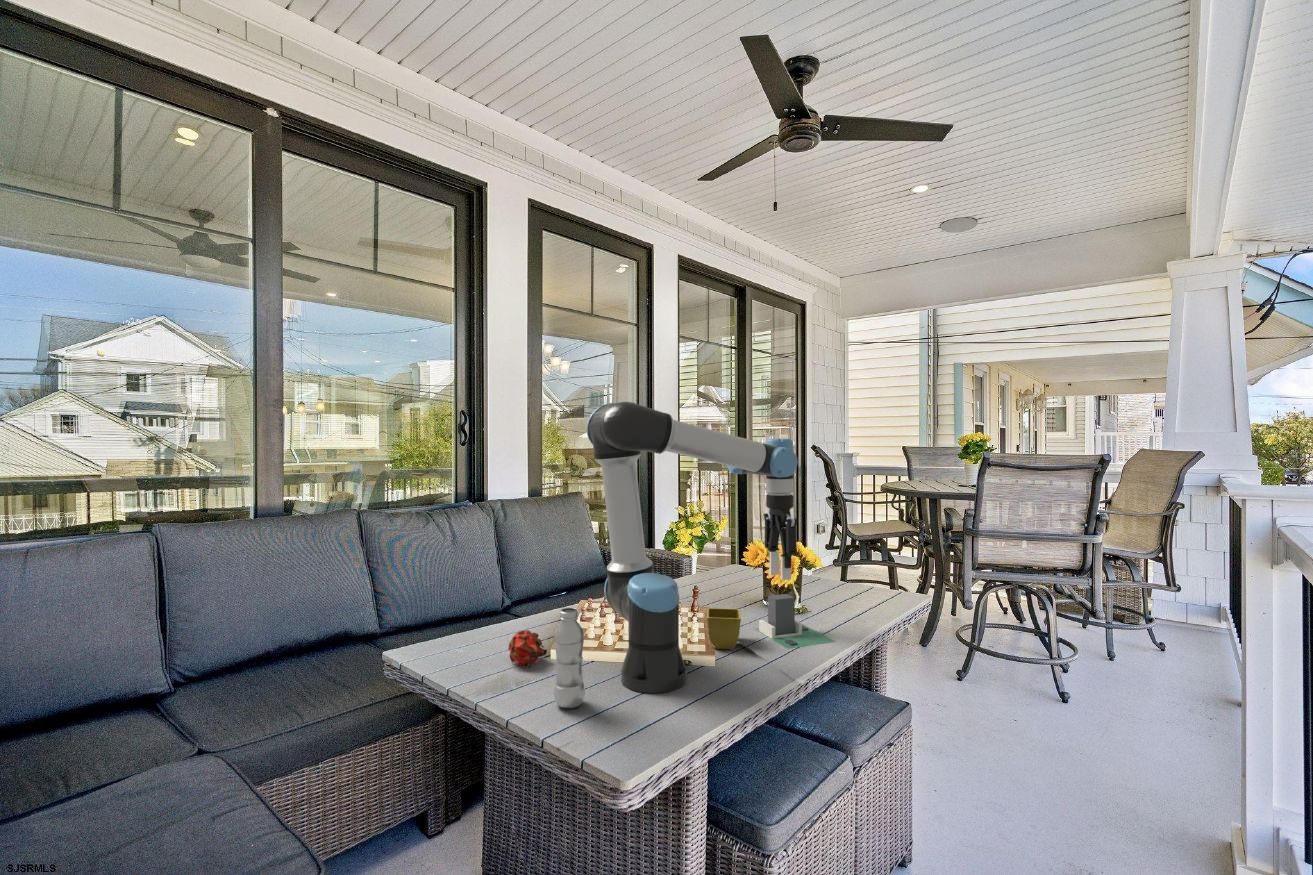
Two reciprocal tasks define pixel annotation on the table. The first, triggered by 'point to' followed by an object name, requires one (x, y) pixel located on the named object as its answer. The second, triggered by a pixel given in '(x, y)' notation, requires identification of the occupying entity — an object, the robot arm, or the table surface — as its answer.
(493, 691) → the table surface
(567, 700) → the plastic bottle
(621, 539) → the robot arm
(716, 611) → the flower pot
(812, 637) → the board
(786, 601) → the plug
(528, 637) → the dragon fruit
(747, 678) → the table surface
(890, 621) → the table surface
